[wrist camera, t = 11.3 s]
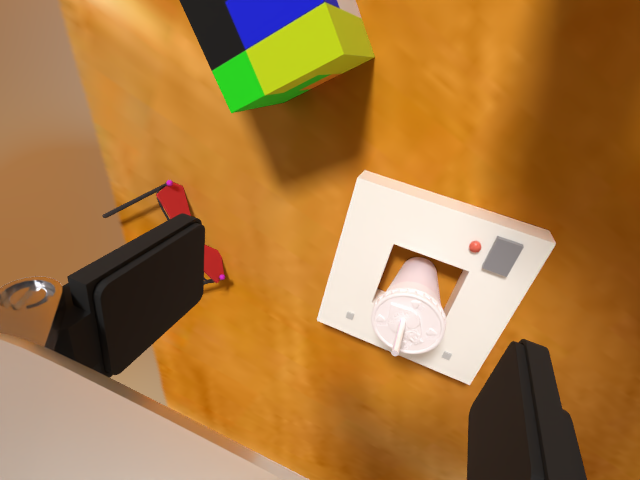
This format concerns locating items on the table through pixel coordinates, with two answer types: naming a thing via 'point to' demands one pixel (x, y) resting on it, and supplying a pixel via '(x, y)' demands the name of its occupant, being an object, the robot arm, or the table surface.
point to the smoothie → (411, 310)
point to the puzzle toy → (277, 45)
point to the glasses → (175, 205)
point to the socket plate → (441, 244)
